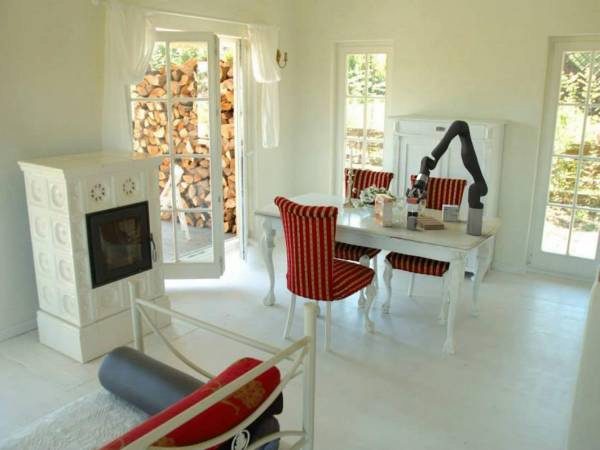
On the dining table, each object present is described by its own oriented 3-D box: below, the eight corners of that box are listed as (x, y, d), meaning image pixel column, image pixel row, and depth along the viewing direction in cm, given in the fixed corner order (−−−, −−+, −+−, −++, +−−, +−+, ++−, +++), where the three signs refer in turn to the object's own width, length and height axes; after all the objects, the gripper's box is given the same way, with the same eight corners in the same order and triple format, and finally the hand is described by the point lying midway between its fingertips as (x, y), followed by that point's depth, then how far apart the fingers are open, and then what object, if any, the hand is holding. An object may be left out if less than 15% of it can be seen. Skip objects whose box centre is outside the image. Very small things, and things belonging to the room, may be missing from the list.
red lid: (419, 202, 373) (420, 198, 372) (416, 204, 368) (416, 199, 367) (410, 201, 376) (411, 197, 376) (406, 203, 371) (407, 198, 370)
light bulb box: (456, 219, 405) (457, 204, 402) (458, 221, 398) (459, 206, 395) (441, 219, 406) (442, 204, 403) (442, 221, 399) (443, 206, 396)
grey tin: (416, 228, 377) (417, 217, 375) (413, 230, 373) (414, 218, 371) (409, 227, 380) (410, 215, 378) (406, 229, 376) (407, 217, 374)
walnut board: (444, 228, 378) (444, 224, 378) (424, 229, 376) (424, 224, 375) (430, 220, 399) (431, 216, 399) (411, 221, 397) (412, 217, 396)
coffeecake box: (373, 221, 394) (375, 193, 389) (383, 221, 396) (384, 193, 391) (381, 226, 380) (383, 198, 375) (391, 226, 382) (393, 197, 377)
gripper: (409, 177, 378) (400, 198, 372) (429, 180, 370) (421, 200, 364) (412, 184, 384) (403, 204, 377) (432, 187, 376) (424, 207, 369)
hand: (412, 202), depth 371 cm, fingers closed on red lid, 6 cm apart
